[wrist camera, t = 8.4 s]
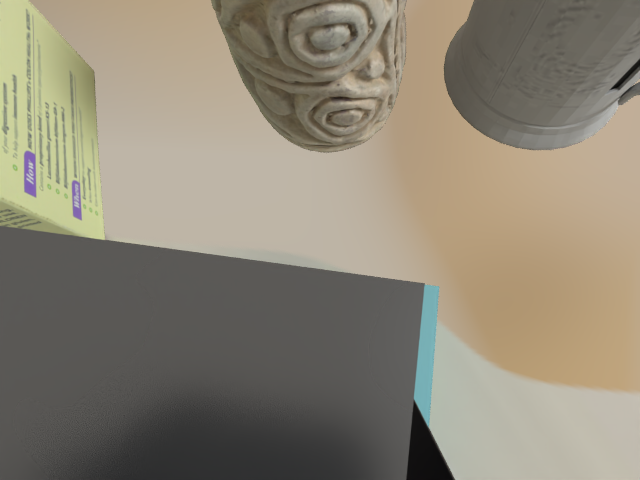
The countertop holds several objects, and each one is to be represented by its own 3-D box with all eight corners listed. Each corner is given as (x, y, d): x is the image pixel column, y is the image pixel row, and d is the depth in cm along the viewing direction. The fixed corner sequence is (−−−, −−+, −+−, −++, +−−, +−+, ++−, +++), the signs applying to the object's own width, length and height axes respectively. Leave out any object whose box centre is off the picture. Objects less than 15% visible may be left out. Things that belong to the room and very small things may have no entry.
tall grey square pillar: (360, 492, 15) (337, 1209, 2) (222, 463, 15) (-377, 891, 3) (377, 345, 16) (424, 284, 4) (250, 325, 17) (-84, 215, 4)
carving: (285, 36, 23) (220, -282, 12) (415, 82, 22) (487, -225, 10) (230, 132, 22) (93, -120, 10) (364, 187, 20) (381, -30, 9)
